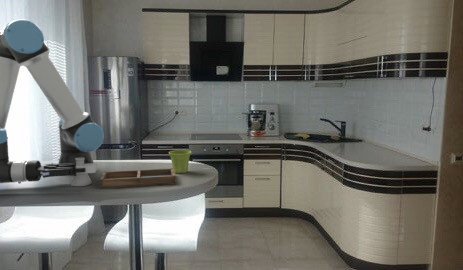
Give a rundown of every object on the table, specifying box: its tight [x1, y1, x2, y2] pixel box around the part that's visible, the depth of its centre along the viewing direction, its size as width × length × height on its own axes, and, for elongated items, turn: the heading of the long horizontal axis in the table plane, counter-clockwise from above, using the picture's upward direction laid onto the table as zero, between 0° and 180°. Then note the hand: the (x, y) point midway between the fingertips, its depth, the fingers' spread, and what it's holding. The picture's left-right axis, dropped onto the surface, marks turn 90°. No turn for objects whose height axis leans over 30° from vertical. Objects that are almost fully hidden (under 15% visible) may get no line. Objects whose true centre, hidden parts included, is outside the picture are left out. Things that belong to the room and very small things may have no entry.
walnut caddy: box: [99, 167, 177, 189], centre depth 146 cm, size 14×27×3 cm, turn 103°
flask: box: [70, 158, 92, 187], centre depth 141 cm, size 7×7×10 cm
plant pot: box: [168, 149, 192, 174], centre depth 162 cm, size 9×9×9 cm
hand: (95, 167), depth 142 cm, fingers closed on flask, 3 cm apart
